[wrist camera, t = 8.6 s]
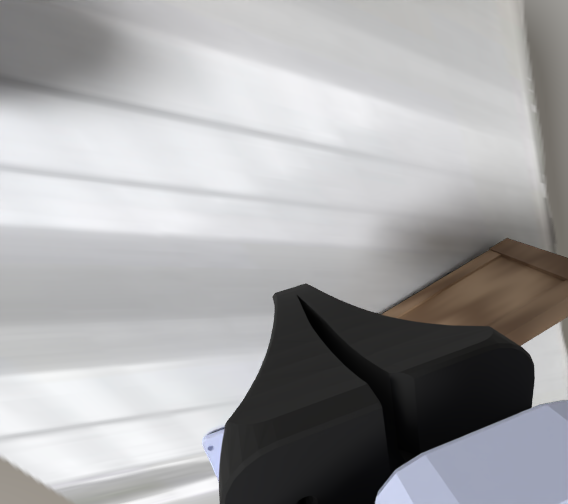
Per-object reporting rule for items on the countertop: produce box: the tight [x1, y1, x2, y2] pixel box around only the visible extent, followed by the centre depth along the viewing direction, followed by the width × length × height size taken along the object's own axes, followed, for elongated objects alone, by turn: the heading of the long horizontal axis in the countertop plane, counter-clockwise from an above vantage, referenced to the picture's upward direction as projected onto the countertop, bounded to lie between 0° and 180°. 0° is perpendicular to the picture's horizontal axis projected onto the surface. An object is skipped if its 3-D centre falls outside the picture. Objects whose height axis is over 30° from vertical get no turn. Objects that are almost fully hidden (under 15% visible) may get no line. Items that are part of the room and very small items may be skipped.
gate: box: [381, 238, 568, 346], centre depth 21 cm, size 15×2×7 cm, turn 117°
